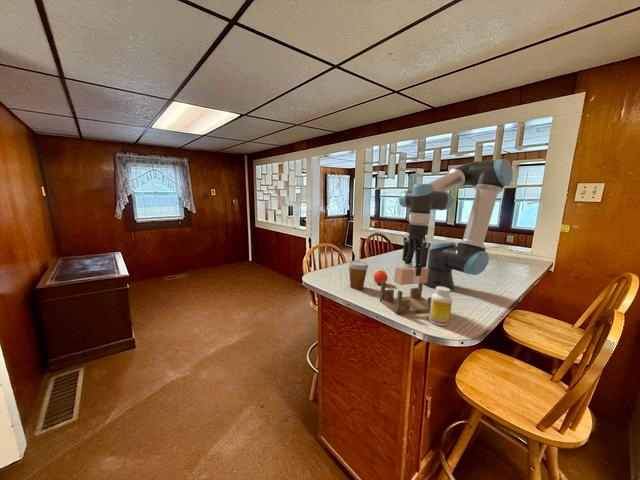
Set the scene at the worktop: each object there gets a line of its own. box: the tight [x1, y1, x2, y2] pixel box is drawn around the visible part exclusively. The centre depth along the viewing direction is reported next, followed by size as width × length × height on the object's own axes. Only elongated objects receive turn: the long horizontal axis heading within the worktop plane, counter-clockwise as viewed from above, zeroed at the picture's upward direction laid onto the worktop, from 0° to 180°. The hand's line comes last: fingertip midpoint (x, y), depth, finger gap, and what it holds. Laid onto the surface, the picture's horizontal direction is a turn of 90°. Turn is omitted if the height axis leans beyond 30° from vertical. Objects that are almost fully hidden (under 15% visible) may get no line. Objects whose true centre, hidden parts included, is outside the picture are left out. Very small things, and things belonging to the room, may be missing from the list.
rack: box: [379, 281, 432, 316], centre depth 107 cm, size 20×13×9 cm, turn 107°
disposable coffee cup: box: [347, 260, 369, 290], centre depth 127 cm, size 10×10×12 cm
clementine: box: [373, 270, 388, 285], centre depth 134 cm, size 8×7×7 cm
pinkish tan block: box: [393, 266, 429, 286], centre depth 105 cm, size 14×4×6 cm, turn 115°
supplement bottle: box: [428, 286, 453, 327], centre depth 93 cm, size 7×7×13 cm
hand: (411, 281), depth 106 cm, fingers closed on pinkish tan block, 4 cm apart
